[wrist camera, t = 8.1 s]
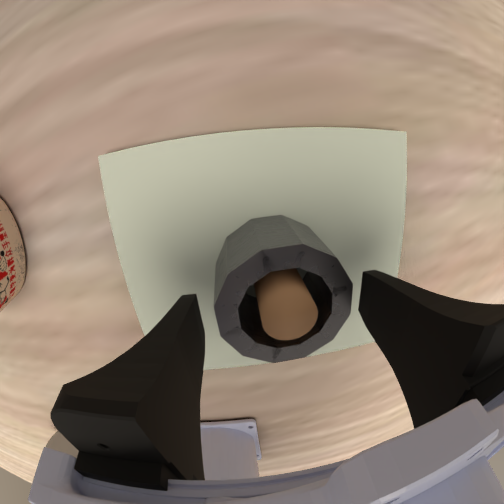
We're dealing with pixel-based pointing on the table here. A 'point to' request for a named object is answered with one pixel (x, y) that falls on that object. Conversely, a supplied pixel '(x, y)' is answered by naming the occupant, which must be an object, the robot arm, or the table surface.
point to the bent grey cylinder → (62, 444)
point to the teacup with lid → (10, 257)
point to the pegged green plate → (255, 206)
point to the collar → (274, 259)
